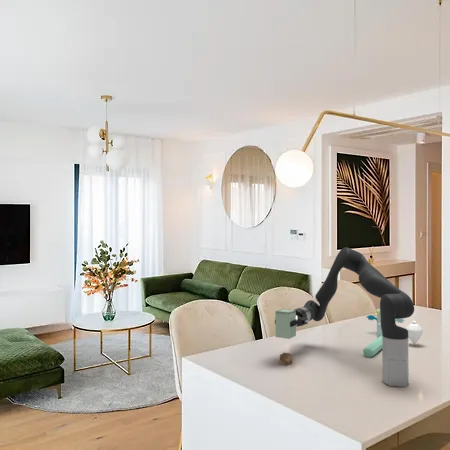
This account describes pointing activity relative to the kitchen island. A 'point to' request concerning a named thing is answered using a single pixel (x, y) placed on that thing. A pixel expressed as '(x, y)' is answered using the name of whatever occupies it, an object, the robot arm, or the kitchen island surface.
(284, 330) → the tall sage green box
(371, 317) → the character sculpture
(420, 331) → the spinning top
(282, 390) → the kitchen island surface
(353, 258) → the robot arm
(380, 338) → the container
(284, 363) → the walnut block
